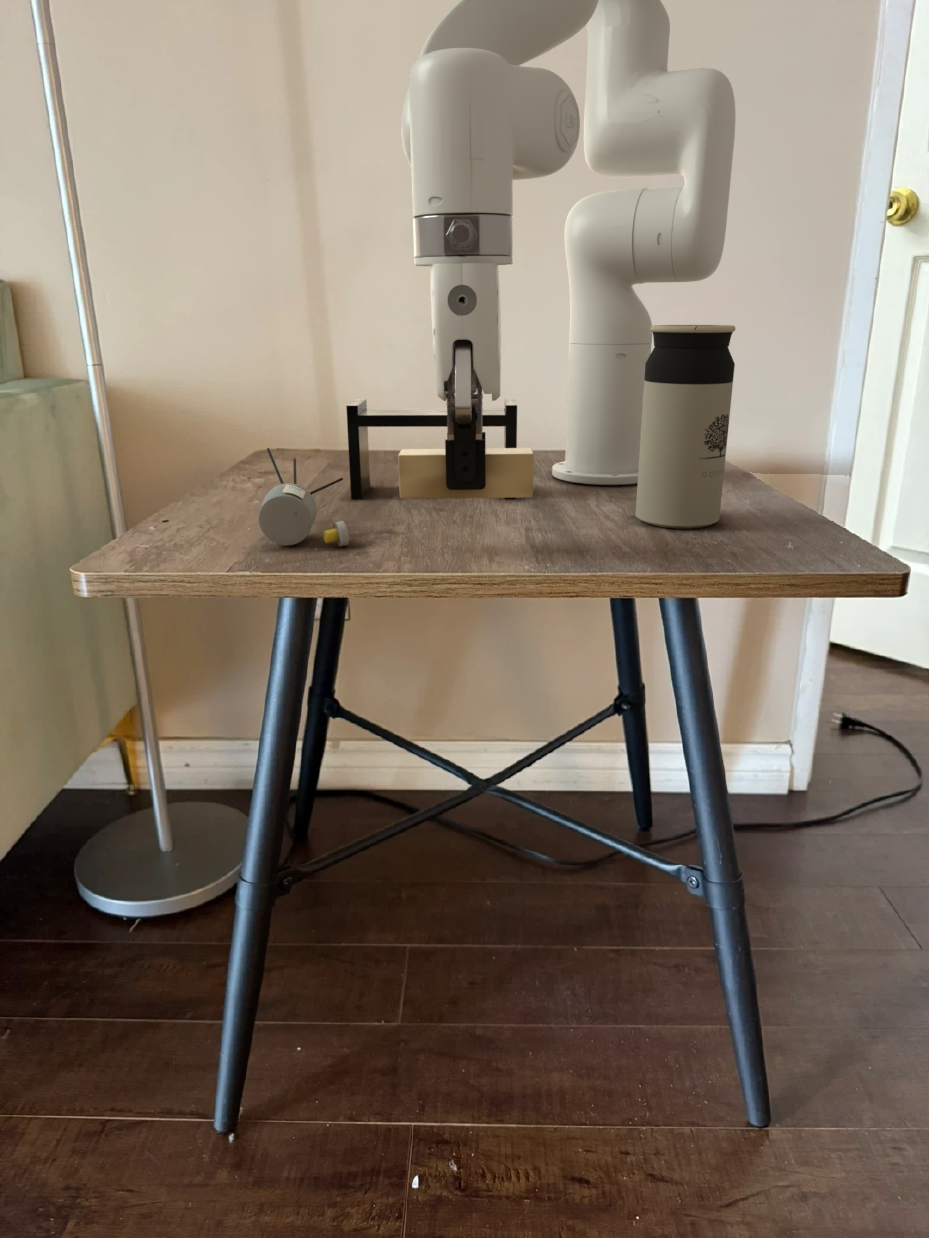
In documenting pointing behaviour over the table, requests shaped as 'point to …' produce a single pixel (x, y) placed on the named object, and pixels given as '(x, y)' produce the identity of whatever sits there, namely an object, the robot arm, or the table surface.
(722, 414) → the travel mug
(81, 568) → the table surface
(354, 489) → the shelf
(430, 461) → the block
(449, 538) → the table surface
